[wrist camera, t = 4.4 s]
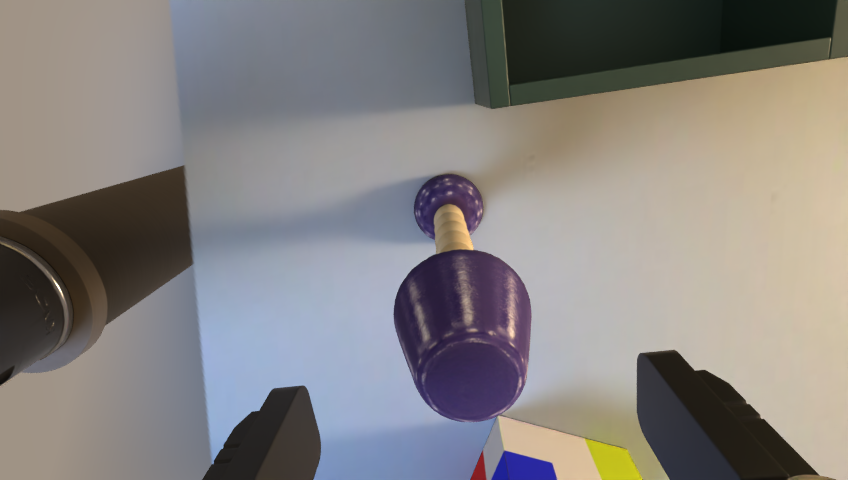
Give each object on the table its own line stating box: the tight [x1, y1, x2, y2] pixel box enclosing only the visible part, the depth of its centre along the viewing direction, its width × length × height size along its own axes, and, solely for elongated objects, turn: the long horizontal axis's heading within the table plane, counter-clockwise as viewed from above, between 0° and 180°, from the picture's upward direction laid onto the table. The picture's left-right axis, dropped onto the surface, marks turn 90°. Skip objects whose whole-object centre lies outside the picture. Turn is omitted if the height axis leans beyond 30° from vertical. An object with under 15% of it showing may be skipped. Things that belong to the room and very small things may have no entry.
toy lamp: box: [394, 174, 531, 422], centre depth 19 cm, size 5×5×17 cm
